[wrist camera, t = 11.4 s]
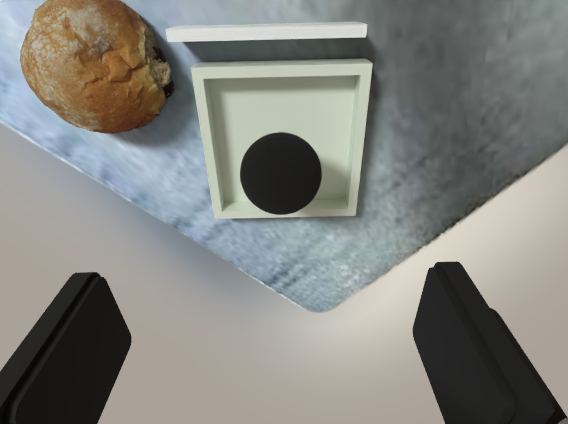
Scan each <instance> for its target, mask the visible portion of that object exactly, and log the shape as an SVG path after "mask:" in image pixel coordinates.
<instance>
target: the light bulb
mask: <svg viewBox="0 0 568 424" xmlns="http://www.w3.org/2000/svg"><path fill="white" fill-rule="evenodd" d="M321 180H322V169H321V163H320V160H319V157H318V155H317V153H316V152H315V150H314V149H313V148H312V146H311V145H310V144H309V143H308V142H306V141H305V140H304V139H302V138H300V137H299V136H297V135H294V134H290V133H287V132H277V133H271V134H268V135H265V136H263V137H261V138H259V139H258V140H256V141H255V142H254V143H253V144H252V145H251V146H250V147H249V148H248V150H247V151H246V153H245V155H244V156H243V159H242V162H241V167H240V181H241V185H242V188H243V190H244V193H245V194H246V196H247V198H248V199H249V200H250V201H251V202H252V203H253V204H254V205H255V206H256V207H258V208H259V209H261V210H263V211H265V212H267V213H270V214H275V215H287V214H291V213H295V212H297V211H299V210H301V209H303V208H304V207H306V206H307V205H308V204H309V203H310V202H311V201H312V200H313V199H314V197H315V196H316V194H317V192H318V190H319V187H320V184H321Z"/></svg>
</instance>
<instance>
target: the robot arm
mask: <svg viewBox="0 0 568 424" xmlns="http://www.w3.org/2000/svg"><path fill="white" fill-rule="evenodd" d="M413 337H414V341H415V343H416V346H417V349H418V351H419V354H420V357H421V360H422V362H423V365H424V367H425V370H426V373H427V376H428V378H429V381H430V384H431V386H432V389H433V392H434V394H435V397H436V400H437V403H438V405H439V408H440V411H441V413H442V416H443V419H444V421H445V424H568V418H567V416H566V415H565V413H564V412H563V410H562V409H561V407H560V406H559V404H558V402H557V401H556V400H555V398H554V396H553V395H552V393H551V392H550V390H549V389H548V388H547V386H546V384H545V383H544V381H543V380H542V378H541V377H540V375H539V374H538V372H537V371H536V370H535V368H534V366H533V365H532V363H531V362H530V360H529V359H528V357H527V356H526V354H525V353H524V351H523V350H522V349H521V347H520V345H519V344H518V342H517V341H516V339H515V338H514V336H513V335H512V333H511V332H510V330H509V329H508V327H507V325H506V324H505V322H504V321H503V319H502V318H501V317H500V315H499V314H498V313H497V312H496V311H495V310H493V309H491V308H489V306H488V305H487V303H486V302H485V300H484V298H483V297H482V295H481V294H480V292H479V291H478V289H477V288H476V286H475V285H474V283H473V281H472V280H471V278H470V277H469V275H468V274H467V272H466V271H465V269H464V267H463V266H462V265H461V264H460V263H459V262H437V263H436V264H435V266H434V267H433V268H429V270H428V273H427V276H426V281H425V284H424V288H423V292H422V295H421V299H420V303H419V307H418V311H417V314H416V318H415V322H414V325H413ZM130 346H131V334H130V332H129V329H128V327H127V325H126V323H125V321H124V319H123V316H122V314H121V312H120V310H119V308H118V305H117V303H116V301H115V299H114V297H113V294H112V292H111V290H110V288H109V286H108V283H107V281H106V279H105V278H104V277H101V276H100V275H99V274H98V273H97V272H88V273H75V274H73V275H72V276H71V277H70V278H69V280H68V281H67V282H66V284H65V285H64V286H63V288H62V289H61V290H60V292H59V293H58V294H57V296H56V297H55V298H54V300H53V301H52V303H51V304H50V305H49V306H48V308H47V309H46V310H45V312H44V313H43V314H42V316H41V317H40V318H39V320H38V321H37V323H36V324H35V325H34V327H33V328H32V329H31V331H30V332H29V333H28V335H27V336H26V337H25V339H24V340H23V342H22V343H21V344H20V346H19V347H18V348H17V350H16V351H15V352H14V354H13V355H12V356H11V358H10V359H9V360H8V362H7V363H6V364H5V366H4V367H3V369H2V370H1V371H0V424H97V423H98V420H99V419H100V416H101V414H102V411H103V409H104V407H105V404H106V402H107V400H108V397H109V395H110V393H111V390H112V388H113V386H114V383H115V381H116V379H117V376H118V374H119V372H120V370H121V367H122V365H123V362H124V360H125V358H126V355H127V353H128V351H129V349H130Z"/></svg>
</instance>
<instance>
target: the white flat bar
mask: <svg viewBox="0 0 568 424" xmlns="http://www.w3.org/2000/svg"><path fill="white" fill-rule="evenodd" d="M366 32H367V24H365V23H361V22H323V23H281V24H239V25H197V26H175V27H171V28H168V29H166V35H167V40H168V42H190V41H233V40H275V39H317V38H359V37H366Z"/></svg>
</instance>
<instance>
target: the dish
mask: <svg viewBox="0 0 568 424" xmlns="http://www.w3.org/2000/svg"><path fill="white" fill-rule="evenodd" d="M372 65H373V63H371V62H370V61H369V60H367V59H366V58H354V59H311V60H269V61H226V62H197V63H196V64H195V65H193V66H192V67H191V73H192V79H193V85H194V92H195V98H196V105H197V111H198V117H199V124H200V130H201V136H202V143H203V149H204V155H205V162H206V168H207V174H208V181H209V187H210V193H211V200H212V206H213V212H214V219H232V218H277V217H322V216H356V207H357V198H358V189H359V181H360V172H361V163H362V154H363V145H364V136H365V127H366V118H367V109H368V100H369V91H370V82H371V74H372ZM277 132H287V133H290V134H294V135H297V136H299V137H300V138H302V139H304V140H305V141H306V142H308V143H309V144H310V145H311V146H312V148H313V149H314V150H315V152H316V153H317V155H318V157H319V160H320V163H321V169H322V180H321V184H320V187H319V190H318V192H317V194H316V196H315V197H314V199H313V200H312V201H311V202H310V203H309V204H308V205H307V206H306V207H304V208H303V209H301V210H299V211H297V212H295V213H291V214H287V215H275V214H270V213H267V212H265V211H263V210H261V209H259V208H258V207H256V206H255V205H254V204H253V203H252V202H251V201H250V200H249V199H248V198H247V196H246V194H245V193H244V190H243V188H242V185H241V181H240V167H241V162H242V159H243V156H244V155H245V153H246V151H247V150H248V148H249V147H250V146H251V145H252V144H253V143H254V142H255V141H256V140H258V139H259V138H261V137H263V136H265V135H268V134H271V133H277Z"/></svg>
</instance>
